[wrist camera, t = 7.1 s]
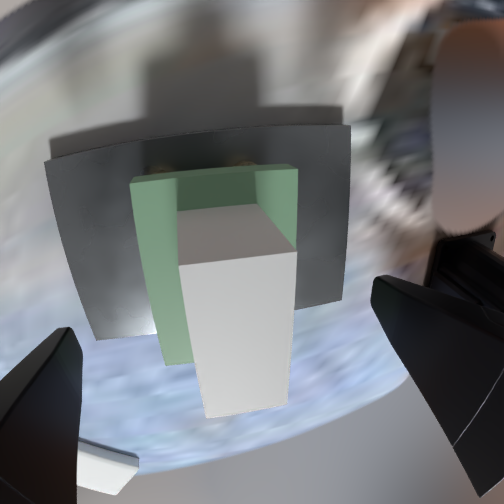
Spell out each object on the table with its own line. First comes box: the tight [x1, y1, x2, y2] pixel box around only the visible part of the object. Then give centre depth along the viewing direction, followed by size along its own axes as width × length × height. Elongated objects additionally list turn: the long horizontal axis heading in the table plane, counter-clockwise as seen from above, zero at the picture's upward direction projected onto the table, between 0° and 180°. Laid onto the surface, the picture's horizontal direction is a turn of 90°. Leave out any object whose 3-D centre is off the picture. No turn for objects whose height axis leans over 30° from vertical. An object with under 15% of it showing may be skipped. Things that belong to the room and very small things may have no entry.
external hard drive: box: [77, 441, 139, 495], centre depth 19 cm, size 2×8×12 cm
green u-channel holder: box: [129, 164, 298, 419], centre depth 9 cm, size 5×7×4 cm
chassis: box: [44, 124, 351, 341], centre depth 13 cm, size 13×9×3 cm
